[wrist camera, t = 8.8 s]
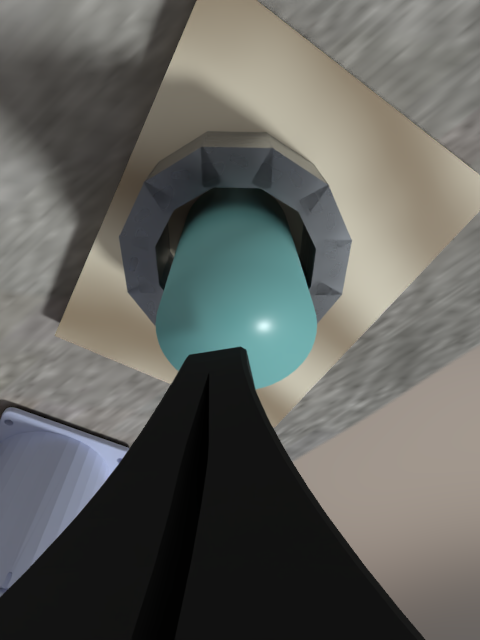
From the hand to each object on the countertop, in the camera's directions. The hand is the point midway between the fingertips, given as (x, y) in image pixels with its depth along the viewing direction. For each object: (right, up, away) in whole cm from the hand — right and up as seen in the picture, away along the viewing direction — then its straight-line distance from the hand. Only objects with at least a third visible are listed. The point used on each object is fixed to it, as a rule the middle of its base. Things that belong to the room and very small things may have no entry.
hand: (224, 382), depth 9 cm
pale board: (+1, +4, +9) cm, 10 cm away
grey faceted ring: (0, +5, +7) cm, 9 cm away
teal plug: (0, +5, +7) cm, 9 cm away
